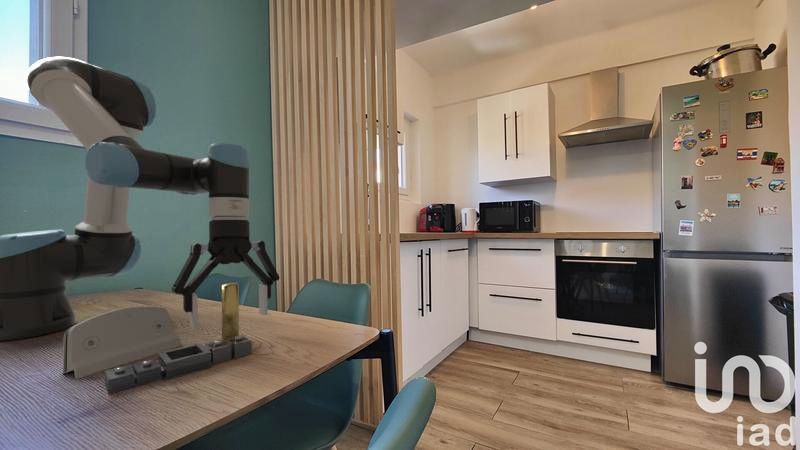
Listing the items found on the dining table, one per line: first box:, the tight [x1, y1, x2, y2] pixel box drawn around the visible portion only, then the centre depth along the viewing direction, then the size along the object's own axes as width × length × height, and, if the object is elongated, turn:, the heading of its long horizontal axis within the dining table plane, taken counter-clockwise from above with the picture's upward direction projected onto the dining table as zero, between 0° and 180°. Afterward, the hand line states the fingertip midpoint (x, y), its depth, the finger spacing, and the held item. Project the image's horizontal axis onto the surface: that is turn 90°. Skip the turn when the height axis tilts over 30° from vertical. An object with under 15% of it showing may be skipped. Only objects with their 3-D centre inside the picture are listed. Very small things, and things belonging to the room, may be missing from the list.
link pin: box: [221, 282, 240, 340], centre depth 69 cm, size 3×3×12 cm
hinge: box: [62, 306, 182, 380], centre depth 61 cm, size 17×5×10 cm, turn 153°
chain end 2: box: [157, 334, 252, 372], centre depth 59 cm, size 6×14×3 cm, turn 135°
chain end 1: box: [104, 353, 212, 395], centre depth 54 cm, size 6×13×3 cm, turn 136°
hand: (230, 320), depth 69 cm, fingers open, 13 cm apart
